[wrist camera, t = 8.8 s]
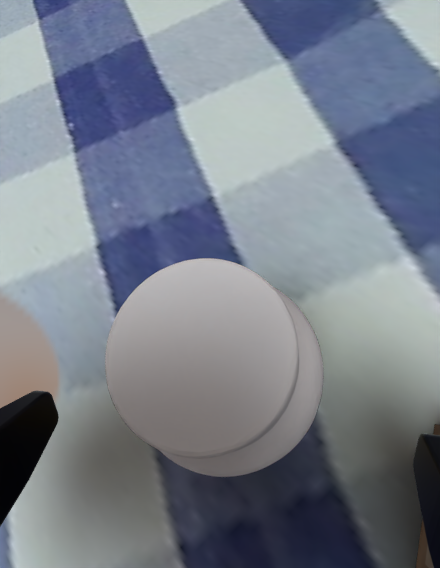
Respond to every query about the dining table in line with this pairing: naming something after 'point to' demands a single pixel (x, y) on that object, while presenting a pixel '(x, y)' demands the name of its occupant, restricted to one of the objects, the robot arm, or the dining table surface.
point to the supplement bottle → (214, 367)
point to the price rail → (423, 558)
